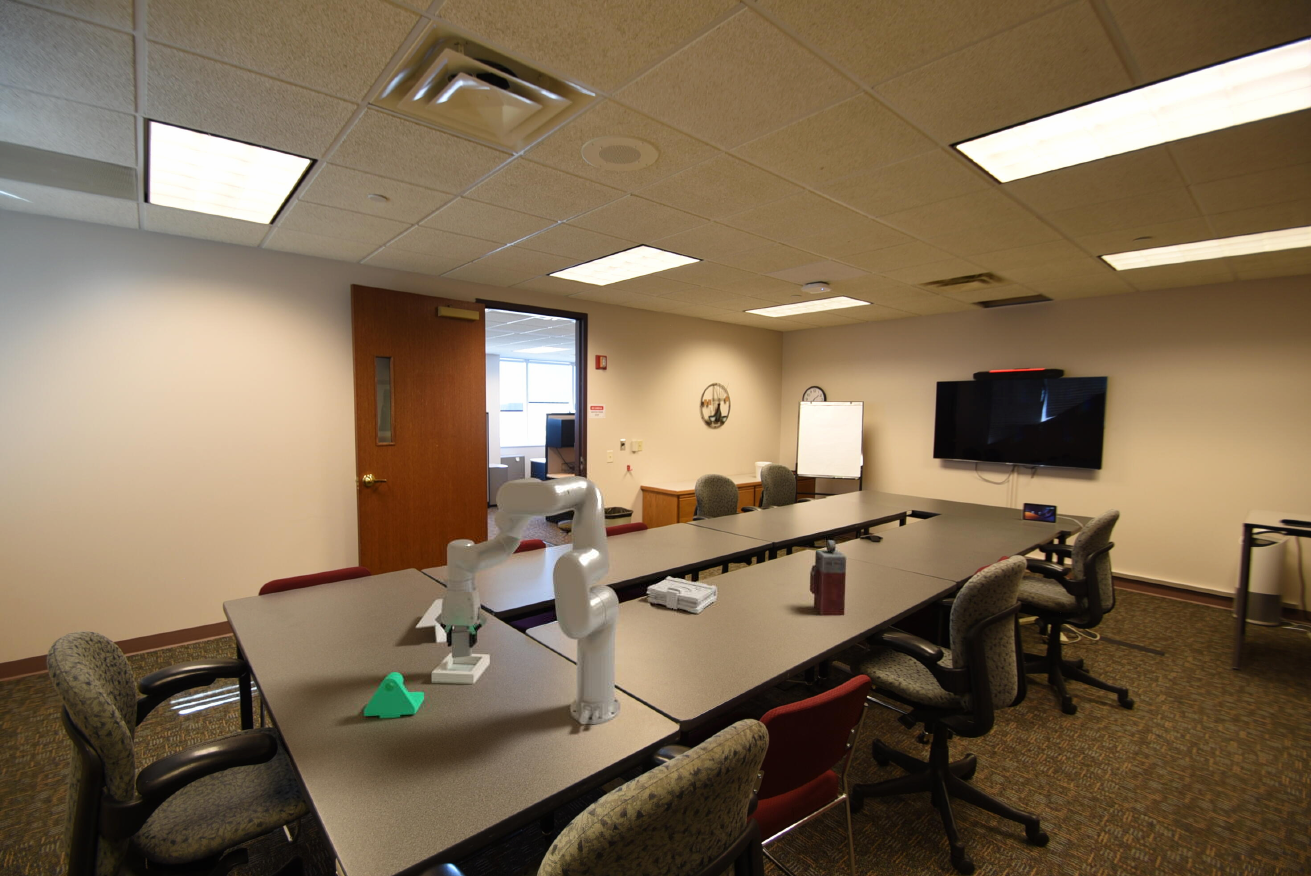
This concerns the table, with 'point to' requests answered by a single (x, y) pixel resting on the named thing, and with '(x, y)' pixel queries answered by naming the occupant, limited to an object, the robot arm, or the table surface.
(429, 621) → the z bracket
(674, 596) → the book
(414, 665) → the table surface
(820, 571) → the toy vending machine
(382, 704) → the camera mount
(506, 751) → the table surface
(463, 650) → the power adapter
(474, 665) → the tray
